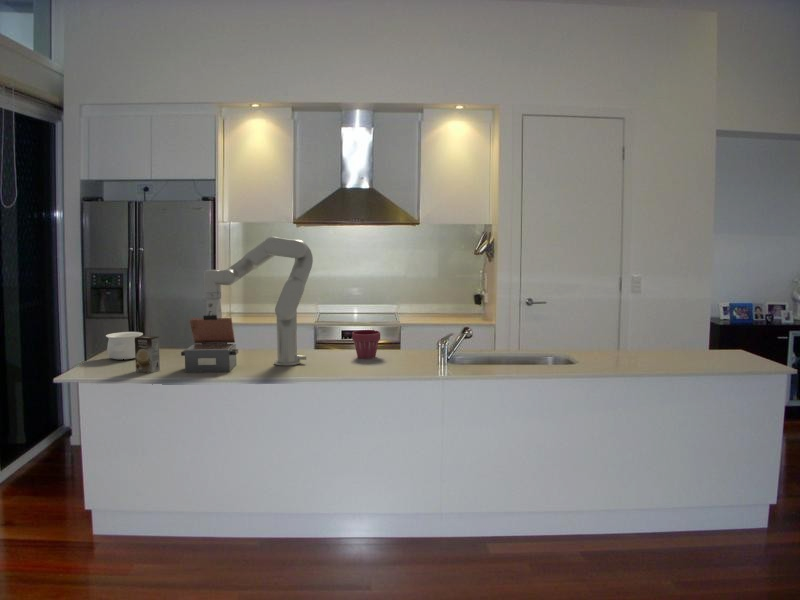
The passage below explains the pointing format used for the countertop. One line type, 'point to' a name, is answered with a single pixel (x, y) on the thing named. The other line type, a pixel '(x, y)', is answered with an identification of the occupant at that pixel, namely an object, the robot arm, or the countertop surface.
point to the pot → (122, 345)
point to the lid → (212, 330)
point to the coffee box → (147, 354)
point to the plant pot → (366, 343)
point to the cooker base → (210, 357)
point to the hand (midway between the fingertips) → (214, 334)
